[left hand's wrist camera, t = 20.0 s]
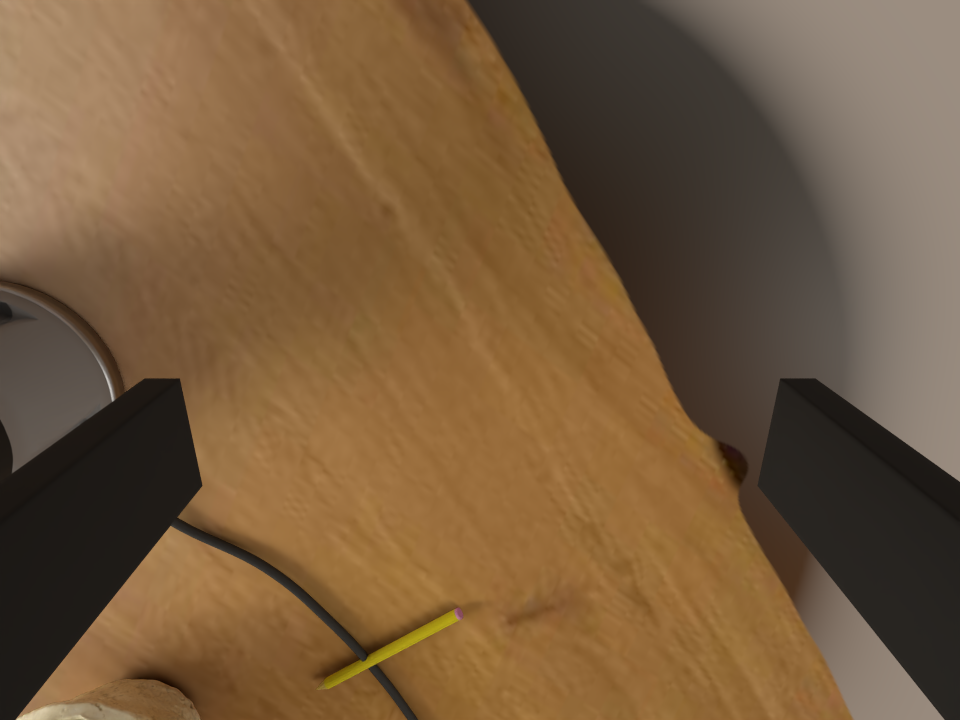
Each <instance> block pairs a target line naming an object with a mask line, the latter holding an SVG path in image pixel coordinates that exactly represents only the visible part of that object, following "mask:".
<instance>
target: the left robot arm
mask: <svg viewBox="0 0 960 720" xmlns="http://www.w3.org/2000/svg"><path fill="white" fill-rule="evenodd" d="M201 487H202V481H201V477H200V472H199V467H198V462H197V458H196V453H195V448H194V444H193V439H192V434H191V429H190V425H189V420H188V415H187V411H186V406H185V401H184V396H183V392H182V387H181V382H180V379H143V380H142V381H141V382H139V383H138V384H136V385H135V386H134V387H132V388H131V389H129V390H128V391H127V392H125V393H124V387H123V382H122V378H121V375H120V372H119V370H118V367H117V365H116V362H115V361H114V359H113V357H112V355H111V353H110V351H109V350H108V348H107V347H106V345H105V344H104V342H103V341H102V340H101V338H100V337H99V336H98V335H97V334H96V332H95V331H94V330H93V329H92V328H91V327H90V326H89V325H88V324H87V323H86V322H85V321H84V320H83V319H82V318H80V317H79V316H78V315H77V314H76V313H74V312H73V311H72V310H70V309H69V308H68V307H66V306H65V305H63V304H62V303H60V302H58V301H57V300H55V299H53V298H51V297H49V296H47V295H45V294H43V293H41V292H39V291H36V290H34V289H31V288H28V287H25V286H22V285H18V284H14V283H10V282H3V281H0V720H15V719H16V718H17V717H18V716H19V714H20V713H21V712H22V711H23V709H24V708H25V707H26V706H27V704H28V703H29V702H30V701H31V699H32V698H33V697H34V696H35V694H36V693H37V692H38V691H39V689H40V688H41V687H42V686H43V684H44V683H45V682H46V681H47V679H48V678H49V677H50V676H51V674H52V673H53V672H54V671H55V669H56V668H57V667H58V666H59V664H60V663H61V662H62V661H63V659H64V658H65V657H66V656H67V654H68V653H69V652H70V651H71V649H72V648H73V647H74V646H75V644H76V643H77V642H78V641H79V639H80V638H81V637H82V636H83V634H84V633H85V632H86V631H87V629H88V628H89V627H90V626H91V624H92V623H93V622H94V621H95V619H96V618H97V617H98V616H99V614H100V613H101V612H102V611H103V609H104V608H105V607H106V606H107V604H108V603H109V602H110V601H111V599H112V598H113V597H114V596H115V594H116V593H117V592H118V591H119V589H120V588H121V587H122V586H123V584H124V583H125V582H126V581H127V579H128V578H129V577H130V576H131V574H132V573H133V572H134V571H135V569H136V568H137V567H138V566H139V564H140V563H141V562H142V561H143V559H144V558H145V557H146V556H147V554H148V553H149V552H150V551H151V549H152V548H153V547H154V546H155V544H156V543H157V542H158V541H159V539H160V538H161V537H162V536H163V534H164V533H165V532H166V531H167V529H168V528H169V527H170V526H172V527H174V528H176V529H178V530H179V531H181V532H183V533H185V534H187V535H189V536H191V537H193V538H195V539H197V540H199V541H202V542H204V543H206V544H208V545H211V546H213V547H215V548H218V549H220V550H222V551H224V552H227V553H229V554H231V555H233V556H235V557H237V558H239V559H242V560H243V561H245V562H247V563H249V564H251V565H253V566H254V567H256V568H258V569H259V570H261V571H263V572H264V573H266V574H267V575H269V576H270V577H272V578H273V579H275V580H276V581H277V582H279V583H280V584H282V585H283V586H284V587H285V588H287V589H288V590H289V591H291V592H292V593H293V594H294V595H295V596H297V597H298V598H299V599H300V600H301V601H302V602H303V603H304V604H305V605H307V606H308V607H309V608H310V609H311V610H312V611H313V612H314V613H315V614H316V615H317V616H318V617H319V618H320V619H321V620H322V621H323V622H325V623H326V624H327V625H328V626H329V627H330V628H331V629H332V630H333V631H334V632H335V633H336V634H337V635H338V636H339V637H340V638H341V639H342V640H343V641H344V642H345V643H346V644H347V645H348V646H349V647H350V648H351V649H352V651H353V652H354V653H355V654H356V655H357V656H358V657H359V658H360V659H361V661H362V662H364V661H365V660H366V659H367V657H368V654H367V653H366V652H365V651H364V649H363V648H362V647H361V646H360V645H359V644H358V643H357V642H356V641H355V639H354V638H353V637H352V636H351V635H350V634H349V633H348V632H347V631H346V630H345V629H344V628H343V627H342V626H341V625H340V624H339V623H338V622H337V621H336V620H335V619H334V618H333V617H332V616H331V615H330V614H329V613H328V612H326V611H325V610H324V609H323V608H322V607H321V606H320V605H319V604H318V603H317V602H316V601H315V600H314V599H313V598H312V597H311V596H310V595H309V594H307V593H306V592H305V591H304V590H303V589H302V588H301V587H300V586H298V585H297V584H296V583H295V582H293V581H292V580H291V579H290V578H288V577H287V576H286V575H284V574H283V573H282V572H280V571H279V570H277V569H276V568H274V567H273V566H271V565H270V564H268V563H267V562H265V561H264V560H262V559H260V558H258V557H257V556H255V555H253V554H251V553H249V552H247V551H245V550H243V549H241V548H239V547H237V546H235V545H233V544H231V543H228V542H226V541H224V540H221V539H219V538H217V537H215V536H212V535H210V534H208V533H206V532H204V531H202V530H199V529H197V528H195V527H193V526H191V525H189V524H188V523H186V522H184V521H182V520H180V519H179V518H177V517H178V516H179V514H180V513H181V512H182V511H183V509H184V508H185V507H186V506H187V504H188V503H189V502H190V501H191V499H192V498H193V497H194V496H195V494H196V493H197V492H198V491H199V489H200V488H201ZM758 487H759V488H760V489H761V490H762V492H763V493H764V494H765V496H766V497H767V498H768V499H769V501H770V502H771V503H772V504H773V506H774V507H775V508H776V509H777V511H778V512H779V513H780V514H781V516H782V517H783V518H784V519H785V521H786V522H787V523H788V524H789V526H790V527H791V528H792V529H793V531H794V532H795V533H796V534H797V536H798V537H799V538H800V539H801V541H802V542H803V543H804V544H805V546H806V547H807V548H808V549H809V551H810V552H811V553H812V554H813V556H814V557H815V558H816V559H817V561H818V562H819V563H820V564H821V566H822V567H823V568H824V569H825V571H826V572H827V573H828V574H829V576H830V577H831V578H832V579H833V581H834V582H835V583H836V584H837V586H838V587H839V588H840V589H841V591H842V592H843V593H844V594H845V596H846V597H847V598H848V599H849V601H850V602H851V603H852V604H853V606H854V607H855V608H856V609H857V611H858V612H859V613H860V614H861V616H862V617H863V618H864V619H865V621H866V622H867V623H868V624H869V626H870V627H871V628H872V629H873V631H874V632H875V633H876V634H877V636H878V637H879V638H880V639H881V641H882V642H883V643H884V644H885V646H886V647H887V648H888V649H889V651H890V652H891V653H892V654H893V656H894V657H895V658H896V659H897V661H898V662H899V663H900V664H901V666H902V667H903V668H904V669H905V671H906V672H907V673H908V674H909V676H910V677H911V678H912V679H913V681H914V682H915V683H916V684H917V686H918V687H919V688H920V689H921V691H922V692H923V693H924V694H925V696H926V697H927V698H928V699H929V701H930V702H931V703H932V704H933V706H934V707H935V708H936V709H937V711H938V712H939V713H940V714H941V716H942V717H943V718H944V719H945V720H960V482H959V481H958V480H956V479H955V478H954V477H952V476H951V475H949V474H948V473H947V472H945V471H944V470H942V469H941V468H940V467H938V466H937V465H935V464H934V463H933V462H931V461H930V460H928V459H927V458H926V457H924V456H923V455H921V454H920V453H919V452H917V451H916V450H914V449H913V448H912V447H910V446H909V445H908V444H906V443H905V442H903V441H902V440H901V439H899V438H898V437H896V436H895V435H894V434H892V433H891V432H889V431H888V430H887V429H885V428H884V427H882V426H881V425H880V424H878V423H877V422H875V421H874V420H873V419H871V418H870V417H868V416H867V415H866V414H864V413H863V412H861V411H860V410H859V409H857V408H856V407H854V406H853V405H852V404H850V403H849V402H847V401H846V400H845V399H843V398H842V397H840V396H839V395H838V394H836V393H835V392H833V391H832V390H831V389H829V388H828V387H826V386H825V385H824V384H822V383H821V382H819V381H818V380H817V379H780V382H779V387H778V392H777V397H776V402H775V406H774V411H773V415H772V420H771V425H770V429H769V434H768V439H767V444H766V448H765V453H764V458H763V462H762V467H761V472H760V477H759V481H758ZM368 669H369V670H370V671H371V672H372V674H373V675H374V676H375V677H376V678H377V680H378V681H379V682H380V683H381V684H382V686H383V687H384V688H385V689H386V691H387V692H388V693H389V695H390V696H391V697H392V699H393V700H394V701H395V703H396V704H397V705H398V707H399V708H400V710H401V711H402V712H403V714H404V715H405V717H406V718H407V719H408V720H418V719H417V718H416V716H415V715H414V713H413V712H412V711H411V709H410V708H409V706H408V705H407V703H406V702H405V701H404V699H403V698H402V696H401V695H400V694H399V692H398V691H397V690H396V688H395V687H394V686H393V684H392V683H391V682H390V681H389V679H388V678H387V677H386V676H385V674H384V673H383V672H382V671H381V670H380V668H379V667H378V666H377V665H376V664H375V665H373V666H371V667H369V668H368Z"/></svg>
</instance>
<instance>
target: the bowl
mask: <svg viewBox="0 0 960 720" xmlns="http://www.w3.org/2000/svg"><path fill="white" fill-rule="evenodd" d="M16 720H201V719H200V715H199V714H198V712H197V710H196V708H195V707H194V704H193V703H192V701H190V699H187V698H186V697H185V696H184V695H183V693H181V692H180V691H179V690H178V689H177V688H174V687H171V686H169V685H167V684H164V683H162V682H160V681H157V680H144V679H139V680H130V679H123V680H119V681H115V682H111V683H108V684H105V685H103V686H101V687H99V688H97V689H95V690H92V691H90V692H86V693H84V694H81V695H79V696H77V697H75V698H74V699H72V700H70V701H63V702H56V703H51V704H49V705H45V706H43V707H40V708H38V709H35V710H34V711H32V712H29V713H27V714H25V715H23V716H21V717H19V718H18V719H16Z"/></svg>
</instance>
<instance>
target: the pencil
mask: <svg viewBox="0 0 960 720" xmlns="http://www.w3.org/2000/svg"><path fill="white" fill-rule="evenodd" d="M462 618H463V613H462V611H461V609H460V608H456V609H454V610H452V611H450V612H448V613H446V614H444V615H442V616H441V617H439V618H437V619H435V620H433V621H431V622H429V623H427V624H426V625H424V626H422V627H420V628H418V629H416V630H414V631H412V632H411V633H409V634H407V635H405V636H403V637H401V638H399V639H397V640H396V641H394V642H392V643H390V644H388V645H386V646H384V647H382V648H381V649H379V650H377V651H375V652H373V653H371V654H369V655H368V657H367V659H366V660H365V661H364V662H362V661H361V659H360V660H358V661H356V662H354V663H353V664H351V665H349V666H347V667H345V668H343V669H341V670H339V671H338V672H336V673H334V674H332V675H330V676H328V677H326V678H325V679H324V681H323V682H322V683H321V684H320V685H319V686H318V687H317V688H316V690H319V689H329V688H331V687H333V686H335V685H337V684H339V683H341V682H343V681H345V680H347V679H349V678H350V677H352V676H354V675H356V674H358V673H360V672H362V671H364V670H366V669H368V668H369V667H371V666H373V665H375V664H377V663H379V662H381V661H383V660H385V659H386V658H388V657H390V656H392V655H394V654H396V653H398V652H400V651H402V650H404V649H405V648H407V647H409V646H411V645H413V644H415V643H417V642H419V641H421V640H423V639H424V638H426V637H428V636H430V635H432V634H434V633H436V632H438V631H440V630H442V629H443V628H445V627H447V626H449V625H451V624H453V623H455V622H457V621H459V620H461V619H462Z"/></svg>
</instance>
